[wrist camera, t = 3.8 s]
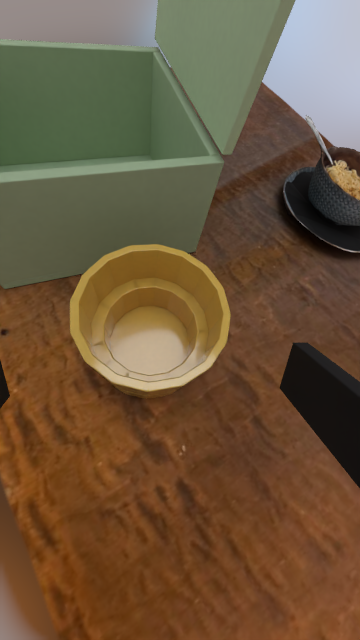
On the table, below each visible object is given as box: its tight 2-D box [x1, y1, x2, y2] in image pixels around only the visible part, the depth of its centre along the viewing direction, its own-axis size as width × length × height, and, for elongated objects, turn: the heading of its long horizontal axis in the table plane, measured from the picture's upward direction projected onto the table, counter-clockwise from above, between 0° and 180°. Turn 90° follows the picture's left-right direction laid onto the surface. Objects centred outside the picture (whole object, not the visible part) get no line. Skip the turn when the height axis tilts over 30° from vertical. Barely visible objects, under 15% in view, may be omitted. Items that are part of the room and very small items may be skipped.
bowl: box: [70, 244, 231, 399], centre depth 17 cm, size 9×9×8 cm
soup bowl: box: [283, 115, 360, 253], centre depth 27 cm, size 15×16×7 cm
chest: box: [0, 39, 224, 289], centre depth 21 cm, size 19×16×10 cm
